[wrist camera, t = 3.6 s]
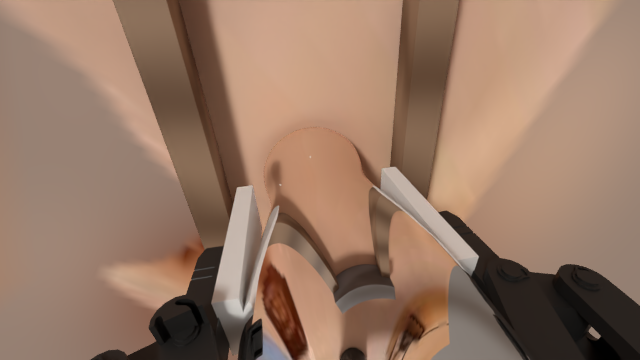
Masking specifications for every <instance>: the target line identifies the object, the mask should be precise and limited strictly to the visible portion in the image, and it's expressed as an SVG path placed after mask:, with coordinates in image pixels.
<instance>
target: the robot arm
mask: <svg viewBox="0 0 640 360" xmlns="http://www.w3.org/2000/svg"><path fill="white" fill-rule="evenodd" d="M380 190H381V191H383V192H384V193H385V194H386V195H388V196H389V197H390V198H391V199H393V200H394V201H395V202H396V203H397V204H399V205H400V206H401V207H402V208H403V209H405V210H406V211H407V212H408V213H409V214H411V215H412V216H413V217H414V218H415V219H416V220H417V221H418V222H420V223H421V224H422V225H423V226H424V227H425V228H426V229H427V230H428V231H429V232H430V233H431V234H432V235H433V236H435V237H436V238H437V239H438V240H439V241H440V242H441V243H442V244H443V245H444V246H445V247H446V248H447V249H448V251H449V252H450V253H451V254H452V255H453V256H454V257H455V259H456V260H457V261H458V262H459V263H460V264H461V265H462V267H463V268H464V269H465V270H466V271H467V272H468V273H469V274H470V276H471V277H472V278H473V279H474V280H475V281H476V282H477V284H478V285H479V286H480V288H481V289H482V290H483V291H484V293H485V294H486V295H487V297H488V298H489V299H490V300H491V302H492V303H493V304H494V305H495V307H496V308H497V309H498V311H499V312H500V313H501V314H502V316H503V317H504V318H505V320H506V321H507V322H508V323H509V325H510V326H511V327H512V329H513V330H514V331H515V332H516V334H517V335H518V336H519V338H520V339H521V341H522V342H523V343H524V345H525V346H526V347H527V349H528V350H529V352H530V353H531V354H532V356H533V357H534V358H535V360H640V306H639V305H638V304H637V303H636V302H634V301H633V300H632V299H631V298H629V297H628V296H627V295H626V294H625V293H623V292H622V291H621V290H620V289H618V288H617V287H616V286H615V285H614V284H612V283H611V282H610V281H609V280H607V279H606V278H605V277H603V276H602V275H600V274H599V273H597V272H595V271H593V270H591V269H588V268H586V267H583V266H579V265H571V264H566V265H563V266H561V267H560V268H559V270H558V272H557V274H556V275H553V274H543V273H533V272H529V271H528V269H526V268H525V267H523V266H522V265H520V264H519V263H516V262H514V261H511V260H507V259H502V258H499V257H498V256H497V255H496V254H495V253H494V252H493V251H492V250H491V249H490V248H489V247H488V246H487V245H486V244H485V243H484V242H483V241H482V240H481V239H480V238H479V237H478V236H477V235H476V234H475V233H473V231H472V230H471V229H470V228H469V227H467V226H466V224H465V223H464V222H463V221H462V220H461V219H460V218H459V217H457V216H455V215H454V214H452V213H450V212H448V211H442V212H437V211H436V210H435V209H434V208H433V207H432V205H431V204H430V203H429V202H428V201H427V200H426V199H425V198H424V197H423V196H422V195H421V194H420V193H419V191H418V190H417V189H416V188H415V187H414V186H413V185H412V184H411V183H410V182H409V181H408V180H407V179H406V177H405V176H404V175H403V174H402V173H401V172H400V171H399V170H398V169H397V168H396V167H389V168H382V172H381V189H380ZM261 233H262V226H261V222H260V217H259V212H258V208H257V203H256V199H255V194H254V189H253V185H250V186H243V187H237V190H236V195H235V199H234V204H233V208H232V213H231V217H230V222H229V226H228V231H227V235H226V240H225V244H224V246H218V247H212V248H206V249H205V251H204V252H203V253H202V254H201V255H200V257H199V258H198V260H197V263H196V266H195V269H194V270H195V271H194V272H193V275H192V278H191V279H192V280H191V281H190V284H189V287H188V290H187V294H186V295H182V296H179V297H175V298H173V299H172V300H170V301H168V302H166V303H165V304H164V305H163V306H161V307H160V308H159V309H158V310H157V311H156V313H155V314H154V316H153V317H152V319H151V321H150V325H149V330H150V331H151V333H152V334H153V336H154V337H155V339H156V342H154V343H153V344H151V345H149V346H147V347H145V348H142V349H140V350H138V351H136V352H134V353H132V354H130V355H128V356H127V355H126V354H125V353H124V352H122V351H120V350H108V351H106V352H104V353H101V354H99V355H97V356H95V357H94V358H92V359H91V360H228V353H229V348H230V350H231V353H232V355H237V354H238V350H239V342H240V334H241V327H242V319H243V311H244V305H245V301H246V296H247V292H248V288H249V283H250V279H251V275H252V270H253V266H254V263H255V260H256V256H257V253H258V249H259V246H260V243H261ZM591 326H592V327H593V328H594V329H595V330H596V331H597V332H598V333H599V334H600V335H601V337H600V338H599V339H597V338H595V337H593V336H592V335H591V334H590V333H589V332H588V331H589V329H590V328H591Z"/></svg>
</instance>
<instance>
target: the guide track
mask: <svg viewBox="0 0 640 360" xmlns="http://www.w3.org/2000/svg"><path fill="white" fill-rule="evenodd" d="M113 2H114V5H115V8H116V10H117V13H118V16H119V19H120V21H121V24H122V27H123V29H124V32H125V35H126V38H127V40H128V43H129V46H130V48H131V51H132V54H133V57H134V59H135V62H136V65H137V67H138V70H139V73H140V76H141V78H142V81H143V84H144V86H145V89H146V92H147V95H148V97H149V100H150V103H151V105H152V108H153V111H154V113H155V116H156V119H157V122H158V124H159V127H160V130H161V132H162V135H163V138H164V141H165V143H166V146H167V149H168V151H169V154H170V157H171V160H172V162H173V165H174V168H175V170H176V173H177V176H178V179H179V181H180V184H181V187H182V189H183V192H184V195H185V197H186V200H187V203H188V206H189V208H190V211H191V214H192V216H193V219H194V222H195V225H196V227H197V230H198V233H199V235H200V238H201V241H202V244H203V246H204V249H206V248H212V247H218V246H224V244H225V240H226V235H227V231H228V226H229V222H230V217H231V213H232V208H233V202H232V198H231V195H230V191H229V187H228V183H227V180H226V176H225V172H224V169H223V165H222V161H221V157H220V154H219V150H218V146H217V142H216V139H215V135H214V131H213V128H212V124H211V120H210V116H209V113H208V109H207V105H206V101H205V98H204V94H203V90H202V86H201V83H200V79H199V75H198V72H197V68H196V64H195V60H194V57H193V53H192V49H191V45H190V42H189V38H188V34H187V31H186V27H185V23H184V19H183V16H182V12H181V8H180V4H179V1H178V0H113ZM458 5H459V0H403V8H402V21H401V34H400V47H399V60H398V73H397V86H396V99H395V112H394V125H393V137H392V150H391V163H390V167H396V168H397V169H398V170H399V171H400V172H401V173H402V174H403V175H404V176H405V177H406V179H407V180H408V181H409V182H410V183H411V184H412V185H413V186H414V187H415V188H416V189H417V190H418V191H419V193H420V194H421V195H422V196H423V197H424V198H425V199H426V200H427V194H428V188H429V182H430V176H431V170H432V164H433V158H434V152H435V145H436V139H437V133H438V127H439V121H440V115H441V109H442V103H443V97H444V90H445V84H446V78H447V72H448V66H449V60H450V54H451V48H452V41H453V35H454V29H455V23H456V17H457V11H458Z"/></svg>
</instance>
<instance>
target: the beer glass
mask: <svg viewBox="0 0 640 360" xmlns="http://www.w3.org/2000/svg"><path fill="white" fill-rule="evenodd" d="M264 183H265V187H266V191H267V194H268V196H269V199H270V203H271V210H270V213H269V217H268V220H267V224H266V227H265V230H264V233H263V236H262V239H261V243H260V246H259V249H258V253H257V256H256V260H255V263H254V266H253V270H252V275H251V279H250V283H249V288H248V292H247V296H246V301H245V305H244V311H243V319H242V327H241V334H240V342H239V350H238V358H237V360H535V358H534V357H533V356H532V354H531V353H530V352H529V350H528V349H527V347H526V346H525V345H524V343H523V342H522V341H521V339H520V338H519V336H518V335H517V334H516V332H515V331H514V330H513V329H512V327H511V326H510V325H509V323H508V322H507V321H506V320H505V318H504V317H503V316H502V314H501V313H500V312H499V311H498V309H497V308H496V307H495V305H494V304H493V303H492V302H491V300H490V299H489V298H488V297H487V295H486V294H485V293H484V291H483V290H482V289H481V288H480V286H479V285H478V284H477V282H476V281H475V280H474V279H473V278H472V277H471V276H470V274H469V273H468V272H467V271H466V270H465V269H464V268H463V267H462V265H461V264H460V263H459V262H458V261H457V260H456V259H455V257H454V256H453V255H452V254H451V253H450V252H449V251H448V249H447V248H446V247H445V246H444V245H443V244H442V243H441V242H440V241H439V240H438V239H437V238H436V237H435V236H433V235H432V234H431V233H430V232H429V231H428V230H427V229H426V228H425V227H424V226H423V225H422V224H421V223H420V222H418V221H417V220H416V219H415V218H414V217H413V216H412V215H411V214H409V213H408V212H407V211H406V210H405V209H403V208H402V207H401V206H400V205H399V204H397V203H396V202H395V201H394V200H393V199H391V198H390V197H389V196H388V195H386V194H385V193H384V192H383V191H381V190H380V189H379V188H378V187H376V186H375V185H374V184H373V183H372V182H371V181H369V180H368V178H367V177H366V176H365V174H364V172H363V168H362V164H361V161H360V158H359V155H358V153H357V151H356V149H355V147H354V146H353V145H352V143H351V142H350V141H349V140H348V139H347V138H346V137H344V136H343V135H341V134H340V133H338V132H336V131H333V130H330V129H327V128H321V127H309V128H303V129H299V130H296V131H294V132H292V133H290V134H288V135H286V136H285V137H283V138H282V139H281V140H280V141H279V142H278V143H277V144H276V145H275V146H274V147H273V148H272V150H271V151H270V153H269V155H268V157H267V160H266V163H265V167H264Z"/></svg>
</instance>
